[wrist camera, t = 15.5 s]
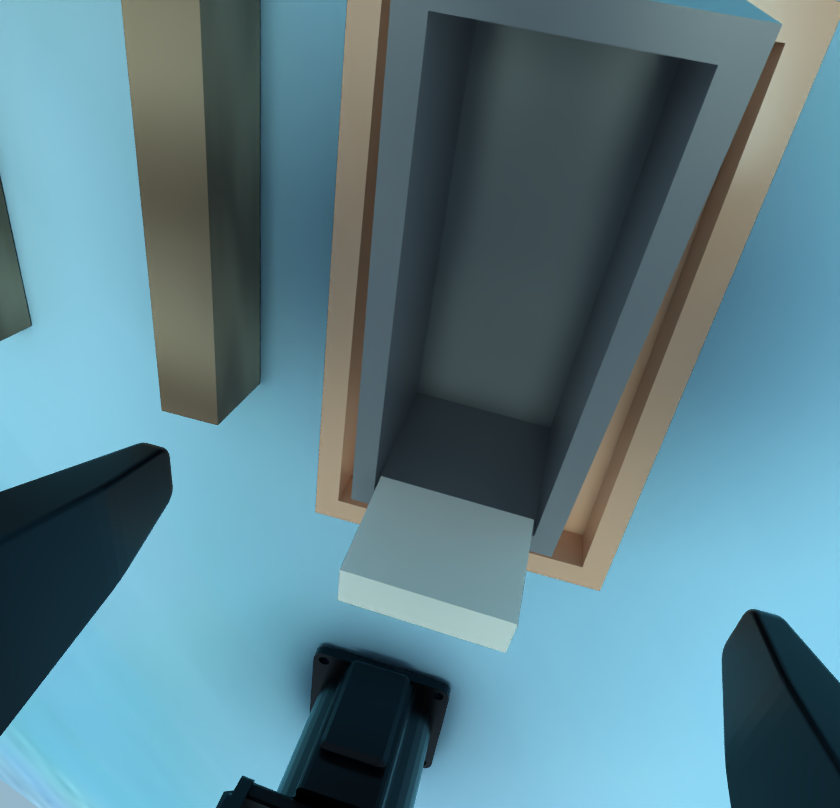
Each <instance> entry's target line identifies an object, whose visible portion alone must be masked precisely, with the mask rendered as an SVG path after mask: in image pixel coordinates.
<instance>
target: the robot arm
mask: <svg viewBox="0 0 840 808" xmlns="http://www.w3.org/2000/svg"><path fill="white" fill-rule="evenodd" d="M172 490H173V485H172V475H171V465H170V456H169V453H168V451H167V450H166V449H165V448H163V447H159V446H156V445H152V444H148V443H139V444H136V445H133V446H130V447H127V448H124V449H121V450H118V451H116V452H113V453H110V454H107V455H104V456H101V457H98V458H96V459H93V460H90V461H87V462H84V463H81V464H78V465H76V466H73V467H70V468H67V469H64V470H61V471H58V472H56V473H53V474H50V475H47V476H44V477H41V478H38V479H36V480H33V481H30V482H27V483H24V484H21V485H18V486H16V487H13V488H10V489H7V490H4V491H1V492H0V736H1V735H2V733H3V732H4V731H5V729H6V728H7V727H8V726H9V724H10V723H11V722H12V720H13V719H14V718H15V716H16V715H17V714H18V713H19V711H20V710H21V709H22V707H23V706H24V705H25V704H26V702H27V701H28V700H29V698H30V697H31V696H32V694H33V693H34V692H35V691H36V689H37V688H38V687H39V685H40V684H41V683H42V681H43V680H44V679H45V678H46V676H47V675H48V674H49V672H50V671H51V670H52V669H53V667H54V666H55V665H56V663H57V662H58V661H59V659H60V658H61V657H62V656H63V654H64V653H65V652H66V650H67V649H68V648H69V647H70V645H71V644H72V643H73V641H74V640H75V639H76V637H77V636H78V635H79V634H80V632H81V631H82V630H83V628H84V627H85V626H86V624H87V623H88V622H89V621H90V619H91V618H92V617H93V615H94V614H95V613H96V612H97V610H98V609H99V608H100V606H101V605H102V604H103V602H104V601H105V600H106V599H107V597H108V596H109V595H110V593H111V592H112V591H113V589H114V588H115V587H116V585H117V584H118V583H119V581H120V580H121V578H122V577H123V575H124V574H125V572H126V571H127V569H128V568H129V566H130V564H131V563H132V561H133V560H134V558H135V556H136V555H137V553H138V551H139V550H140V548H141V547H142V545H143V543H144V542H145V540H146V538H147V537H148V535H149V534H150V532H151V530H152V529H153V527H154V525H155V524H156V522H157V521H158V519H159V517H160V516H161V514H162V512H163V511H164V509H165V508H166V506H167V504H168V503H169V501H170V498H171V495H172ZM722 684H723V715H724V746H725V764H726V774H727V782H728V789H729V796H730V803H731V808H840V682H839V681H838V680H837V679H836V678H835V677H834V676H833V674H832V673H831V672H830V671H829V670H828V669H827V668H826V667H825V665H824V664H823V663H822V662H821V661H820V660H819V659H818V657H817V656H816V655H815V654H814V653H813V652H812V651H811V649H810V648H809V647H808V646H807V645H806V644H805V643H804V641H803V640H802V639H801V638H800V637H799V636H798V635H797V633H796V632H795V631H794V630H793V629H792V628H791V627H790V625H789V624H788V623H787V622H786V621H785V620H784V619H783V618H781V617H780V616H778V615H775V614H771V613H767V612H764V611H760V610H756V609H750V610H748V611H747V612H745V614H744V615H743V616H742V618H741V620H740V621H739V623H738V624H737V626H736V628H735V629H734V631H733V632H732V634H731V636H730V637H729V639H728V640H727V642H726V644H725V646H724V649H723V653H722ZM449 696H450V688H449V686H448V685H446V684H445V683H443V682H440V681H437V680H433V679H430V678H427V677H424V676H420V675H417V674H414V673H411V672H407V671H404V670H401V669H398V668H394V667H391V666H388V665H385V664H381V663H378V662H375V661H372V660H368V659H365V658H362V657H359V656H355V655H352V654H349V653H346V652H342V651H339V650H336V649H333V648H329V647H325V646H322V647H319V648H318V649H317V652H316V654H315V656H314V662H313V676H312V690H311V704H310V715H309V717H308V720H307V722H306V724H305V727H304V729H303V731H302V734H301V736H300V738H299V741H298V743H297V745H296V748H295V750H294V753H293V755H292V757H291V760H290V762H289V764H288V767H287V769H286V771H285V774H284V776H283V778H282V781H281V783H280V785H279V788H278V790H277V792H276V791H273V790H271V789H268V788H266V787H263V786H261V785H258V784H256V783H254V782H255V780H253V779H250V778H248V777H245V776H242V777H241V779H240V781H239V782H238V784H237V786H236V788H235V789H234V791H225V792H224V793H223V795H222V797H221V799H220V801H219V803H218V805H217V807H216V808H413V807H414V803H415V799H416V795H417V790H418V786H419V782H420V778H421V773H422V769H423V768H428V767H430V766H431V764H432V760H433V756H434V753H435V749H436V745H437V741H438V738H439V734H440V730H441V727H442V723H443V719H444V716H445V712H446V708H447V704H448V701H449Z"/></svg>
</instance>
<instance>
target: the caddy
mask: <svg viewBox="0 0 840 808" xmlns="http://www.w3.org/2000/svg"><path fill="white" fill-rule="evenodd" d="M781 27H782V24H781V23H780V22H778V21H777V20H775V19H774V18H772V17H771V16H769V15H768V14H766V13H765V12H763V11H762V10H760V9H759V8H757V7H756V6H754V5H753V4H751V3H750V2H748V1H747V0H391V2H390V15H389V27H388V40H387V52H386V65H385V78H384V90H383V103H382V116H381V128H380V141H379V154H378V166H377V179H376V192H375V204H374V217H373V229H372V242H371V255H370V267H369V280H368V293H367V305H366V318H365V331H364V343H363V356H362V369H361V381H360V394H359V406H358V419H357V432H356V444H355V457H354V470H353V482H352V495H351V499H353V500H357V501H360V502H364V503H367V504H369V505H368V507H367V509H366V512H365V514H364V516H363V518H362V521H361V523H360V525H359V527H358V530H357V532H356V534H355V536H354V539H353V541H352V543H351V546H350V548H349V550H348V552H347V555H346V557H345V559H344V561H343V564H342V566H341V568H340V573H339V588H338V600H339V601H342V602H345V603H348V604H351V605H355V606H358V607H361V608H364V609H367V610H371V611H374V612H377V613H380V614H383V615H386V616H390V617H393V618H396V619H399V620H402V621H406V622H409V623H412V624H415V625H418V626H421V627H425V628H428V629H431V630H434V631H437V632H441V633H444V634H447V635H450V636H453V637H456V638H460V639H463V640H466V641H469V642H472V643H476V644H479V645H482V646H485V647H488V648H491V649H495V650H498V651H501V652H504V653H506V651H507V649H508V647H509V644H510V642H511V640H512V637H513V635H514V633H515V630H516V628H517V626H518V621H519V614H520V608H521V601H522V595H523V588H524V582H525V576H526V569H527V563H528V556H529V551H531V552H535V553H538V554H542V555H545V556H549V557H552V554H553V552H554V550H555V548H556V545H557V543H558V541H559V538H560V536H561V534H562V531H563V529H564V527H565V524H566V522H567V520H568V518H569V515H570V513H571V511H572V508H573V506H574V504H575V501H576V499H577V497H578V495H579V492H580V490H581V488H582V485H583V483H584V481H585V478H586V476H587V474H588V471H589V469H590V467H591V465H592V462H593V460H594V458H595V455H596V453H597V451H598V448H599V446H600V444H601V442H602V439H603V437H604V435H605V432H606V430H607V428H608V425H609V423H610V421H611V418H612V416H613V414H614V412H615V409H616V407H617V405H618V402H619V400H620V398H621V395H622V393H623V391H624V389H625V386H626V384H627V382H628V379H629V377H630V375H631V372H632V370H633V368H634V365H635V363H636V361H637V359H638V356H639V354H640V352H641V349H642V347H643V345H644V342H645V340H646V338H647V336H648V333H649V331H650V329H651V326H652V324H653V322H654V319H655V317H656V315H657V312H658V310H659V308H660V306H661V303H662V301H663V299H664V296H665V294H666V292H667V289H668V287H669V285H670V283H671V280H672V278H673V276H674V273H675V271H676V269H677V266H678V264H679V262H680V259H681V257H682V255H683V253H684V250H685V248H686V246H687V243H688V241H689V239H690V236H691V234H692V232H693V230H694V227H695V225H696V223H697V220H698V218H699V216H700V213H701V211H702V209H703V206H704V204H705V202H706V200H707V197H708V195H709V193H710V190H711V188H712V186H713V183H714V181H715V179H716V177H717V174H718V172H719V170H720V167H721V165H722V163H723V160H724V158H725V156H726V154H727V151H728V149H729V147H730V144H731V142H732V140H733V137H734V135H735V133H736V130H737V128H738V126H739V124H740V121H741V119H742V117H743V114H744V112H745V110H746V107H747V105H748V103H749V101H750V98H751V96H752V94H753V91H754V89H755V87H756V84H757V82H758V80H759V77H760V75H761V73H762V71H763V68H764V66H765V64H766V61H767V59H768V57H769V54H770V52H771V50H772V48H773V45H774V43H775V41H776V38H777V36H778V34H779V31H780V29H781Z"/></svg>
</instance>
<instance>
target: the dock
mask: <svg viewBox="0 0 840 808" xmlns="http://www.w3.org/2000/svg"><path fill="white" fill-rule="evenodd" d="M121 4H122V14H123V24H124V35H125V45H126V55H127V65H128V75H129V85H130V95H131V105H132V115H133V125H134V135H135V145H136V155H137V166H138V176H139V186H140V196H141V206H142V216H143V226H144V236H145V246H146V256H147V266H148V276H149V286H150V297H151V307H152V317H153V327H154V337H155V347H156V357H157V367H158V377H159V387H160V397H161V407H162V411H165V412H169V413H173V414H177V415H181V416H184V417H188V418H192V419H196V420H200V421H203V422H207V423H211V424H215V425H219V424H220V423H221V422H222V421H223V420H224V419H225V418H226V417H227V416H228V415H229V414H230V413H231V412H232V411H233V410H234V409H235V408H236V407H237V406H238V405H239V404H240V403H241V402H242V401H243V400H244V399H245V398H246V397H247V396H248V395H249V394H250V393H251V392H252V391H253V390H254V389H255V388H256V387H257V386H258V385H259V384H260V0H121ZM30 326H31V322H30V317H29V312H28V308H27V303H26V298H25V294H24V289H23V284H22V279H21V275H20V270H19V265H18V261H17V256H16V251H15V247H14V242H13V237H12V232H11V228H10V223H9V218H8V214H7V209H6V204H5V200H4V195H3V190H2V185H1V181H0V341H2V340H4V339H6V338H8V337H10V336H12V335H14V334H16V333H18V332H20V331H22V330H24V329H26V328H28V327H30Z"/></svg>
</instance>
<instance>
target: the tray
mask: <svg viewBox="0 0 840 808" xmlns="http://www.w3.org/2000/svg"><path fill="white" fill-rule="evenodd" d="M747 1H748V2H750V3H751V4H753V5H754V6H756V7H757V8H759V9H760V10H762V11H763V12H765V13H766V14H768V15H769V16H771V17H772V18H774V19H775V20H777V21H778V22H780V23H781V24H782V27H781V29H780V31H779V34H778V36H777V38H776V41H775V43H774V45H773V48H772V50H771V52H770V54H769V57H768V59H767V61H766V64H765V66H764V68H763V71H762V73H761V75H760V77H759V80H758V82H757V84H756V87H755V89H754V91H753V94H752V96H751V98H750V101H749V103H748V105H747V107H746V110H745V112H744V114H743V117H742V119H741V121H740V124H739V126H738V128H737V130H736V133H735V135H734V137H733V140H732V142H731V144H730V147H729V149H728V151H727V154H726V156H725V158H724V160H723V163H722V165H721V167H720V170H719V172H718V174H717V177H716V179H715V181H714V183H713V186H712V188H711V190H710V193H709V195H708V197H707V200H706V202H705V204H704V206H703V209H702V211H701V213H700V216H699V218H698V220H697V223H696V225H695V227H694V230H693V232H692V234H691V236H690V239H689V241H688V243H687V246H686V248H685V250H684V253H683V255H682V257H681V259H680V262H679V264H678V266H677V269H676V271H675V273H674V276H673V278H672V280H671V283H670V285H669V287H668V289H667V292H666V294H665V296H664V299H663V301H662V303H661V306H660V308H659V310H658V312H657V315H656V317H655V319H654V322H653V324H652V326H651V329H650V331H649V333H648V336H647V338H646V340H645V342H644V345H643V347H642V349H641V352H640V354H639V356H638V359H637V361H636V363H635V365H634V368H633V370H632V372H631V375H630V377H629V379H628V382H627V384H626V386H625V389H624V391H623V393H622V395H621V398H620V400H619V402H618V405H617V407H616V409H615V412H614V414H613V416H612V418H611V421H610V423H609V425H608V428H607V430H606V432H605V435H604V437H603V439H602V442H601V444H600V446H599V448H598V451H597V453H596V455H595V458H594V460H593V462H592V465H591V467H590V469H589V471H588V474H587V476H586V478H585V481H584V483H583V485H582V488H581V490H580V492H579V495H578V497H577V499H576V501H575V504H574V506H573V508H572V511H571V513H570V515H569V518H568V520H567V522H566V524H565V527H564V529H563V531H562V534H561V536H560V538H559V541H558V543H557V545H556V548H555V550H554V552H553V554H552V557H549V556H545V555H542V554H538V553H535V552H531V551H529V556H528V563H527V569H526V571H530V572H533V573H537V574H541V575H544V576H548V577H551V578H555V579H559V580H562V581H566V582H569V583H573V584H577V585H580V586H584V587H588V588H591V589H595V590H598V591H600V589H601V587H602V584H603V582H604V580H605V577H606V575H607V572H608V570H609V568H610V565H611V563H612V561H613V558H614V556H615V553H616V551H617V549H618V546H619V544H620V541H621V539H622V537H623V534H624V532H625V530H626V527H627V525H628V522H629V520H630V518H631V515H632V513H633V511H634V508H635V506H636V503H637V501H638V499H639V496H640V494H641V492H642V489H643V487H644V484H645V482H646V480H647V477H648V475H649V472H650V470H651V468H652V465H653V463H654V461H655V458H656V456H657V453H658V451H659V449H660V446H661V444H662V442H663V439H664V437H665V434H666V432H667V430H668V427H669V425H670V422H671V420H672V418H673V415H674V413H675V411H676V408H677V406H678V403H679V401H680V399H681V396H682V394H683V392H684V389H685V387H686V384H687V382H688V380H689V377H690V375H691V372H692V370H693V368H694V365H695V363H696V361H697V358H698V356H699V353H700V351H701V349H702V346H703V344H704V342H705V339H706V337H707V334H708V332H709V330H710V327H711V325H712V322H713V320H714V318H715V315H716V313H717V311H718V308H719V306H720V303H721V301H722V299H723V296H724V294H725V292H726V289H727V287H728V284H729V282H730V280H731V277H732V275H733V273H734V270H735V268H736V265H737V263H738V261H739V258H740V256H741V253H742V251H743V249H744V246H745V244H746V242H747V239H748V237H749V234H750V232H751V230H752V227H753V225H754V223H755V220H756V218H757V215H758V213H759V211H760V208H761V206H762V203H763V201H764V199H765V196H766V194H767V192H768V189H769V187H770V184H771V182H772V180H773V177H774V175H775V173H776V170H777V168H778V165H779V163H780V161H781V158H782V156H783V153H784V151H785V149H786V146H787V144H788V142H789V139H790V137H791V134H792V132H793V130H794V127H795V125H796V123H797V120H798V118H799V115H800V113H801V111H802V108H803V106H804V103H805V101H806V99H807V96H808V94H809V92H810V89H811V87H812V84H813V82H814V80H815V77H816V75H817V73H818V70H819V68H820V65H821V63H822V61H823V58H824V56H825V54H826V51H827V49H828V46H829V44H830V42H831V39H832V37H833V34H834V32H835V30H836V27H837V25H838V23H839V20H840V1H836V0H747ZM390 2H391V0H347V13H346V29H345V45H344V61H343V77H342V93H341V109H340V125H339V141H338V157H337V173H336V189H335V205H334V221H333V237H332V253H331V269H330V285H329V301H328V317H327V333H326V349H325V365H324V381H323V397H322V413H321V429H320V445H319V461H318V477H317V494H316V510H315V512H317V513H320V514H324V515H328V516H331V517H335V518H338V519H342V520H346V521H349V522H353V523H357V524H360V523H361V521H362V518H363V516H364V514H365V512H366V509H367V507H368V505H369V504H367V503H364V502H360V501H357V500H353V499H351V495H352V482H353V470H354V457H355V444H356V432H357V419H358V406H359V394H360V381H361V369H362V356H363V343H364V331H365V318H366V305H367V293H368V280H369V267H370V255H371V242H372V229H373V217H374V204H375V192H376V179H377V166H378V154H379V141H380V128H381V116H382V103H383V90H384V78H385V65H386V52H387V40H388V27H389V15H390Z"/></svg>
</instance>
